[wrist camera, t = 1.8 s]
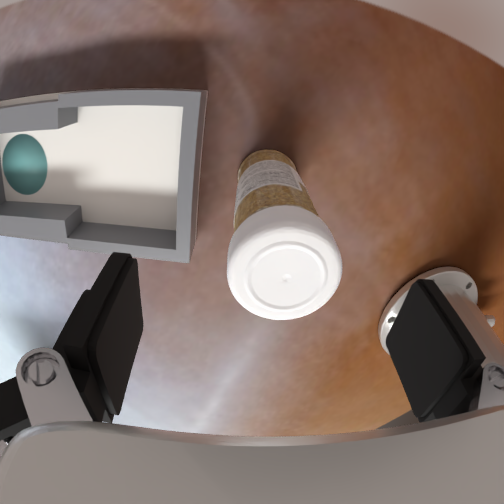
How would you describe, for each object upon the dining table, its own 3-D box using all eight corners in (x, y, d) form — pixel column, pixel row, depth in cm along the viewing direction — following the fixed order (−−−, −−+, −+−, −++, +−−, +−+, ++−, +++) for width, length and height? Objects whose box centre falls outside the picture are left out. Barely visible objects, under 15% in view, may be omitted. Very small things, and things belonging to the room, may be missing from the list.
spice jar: (293, 206, 25) (331, 325, 13) (234, 202, 25) (224, 322, 13) (300, 149, 23) (356, 229, 11) (238, 144, 23) (227, 220, 11)
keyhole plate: (208, 90, 20) (201, 92, 17) (195, 240, 26) (189, 263, 23) (-5, 102, 19) (-31, 109, 16) (6, 221, 25) (-14, 238, 22)
